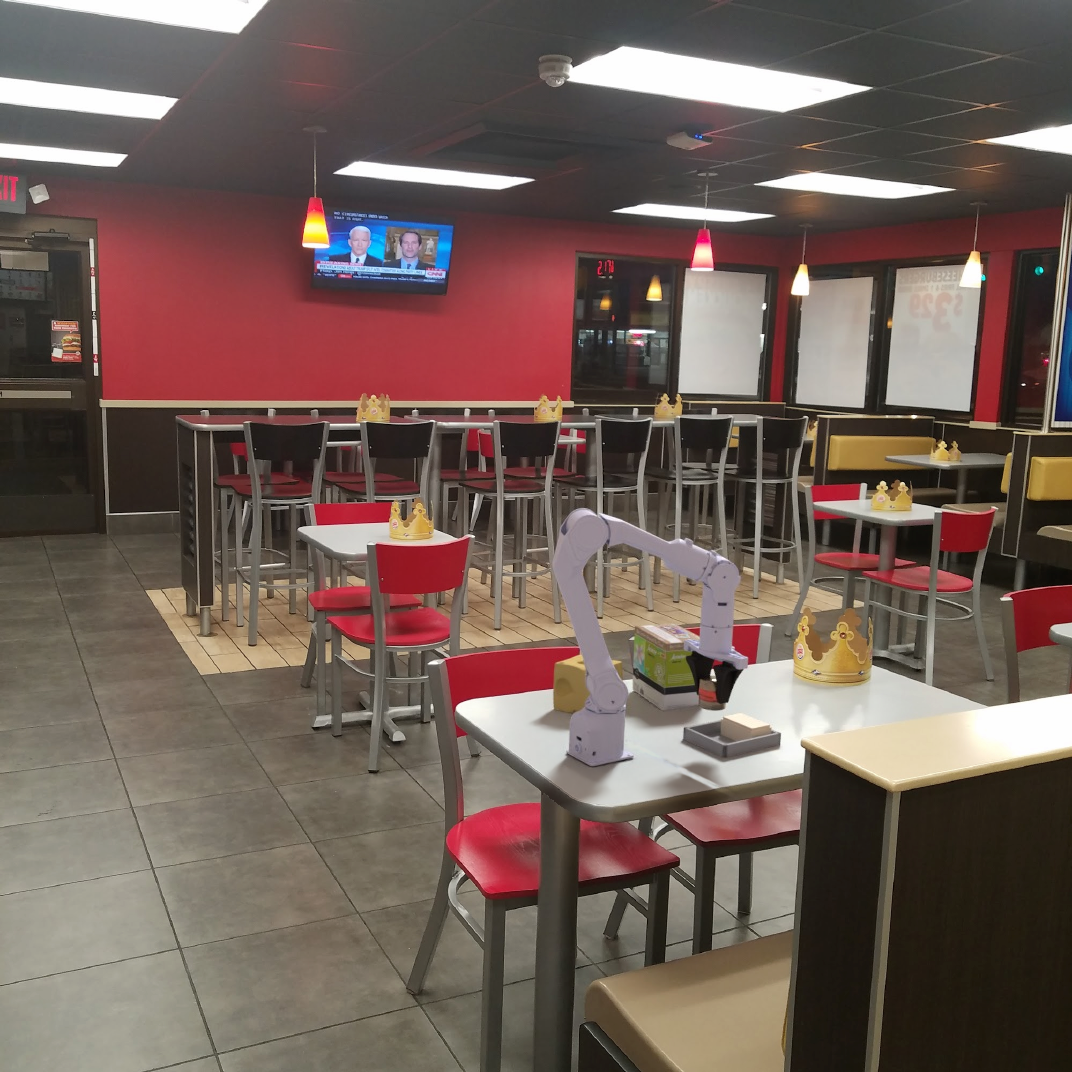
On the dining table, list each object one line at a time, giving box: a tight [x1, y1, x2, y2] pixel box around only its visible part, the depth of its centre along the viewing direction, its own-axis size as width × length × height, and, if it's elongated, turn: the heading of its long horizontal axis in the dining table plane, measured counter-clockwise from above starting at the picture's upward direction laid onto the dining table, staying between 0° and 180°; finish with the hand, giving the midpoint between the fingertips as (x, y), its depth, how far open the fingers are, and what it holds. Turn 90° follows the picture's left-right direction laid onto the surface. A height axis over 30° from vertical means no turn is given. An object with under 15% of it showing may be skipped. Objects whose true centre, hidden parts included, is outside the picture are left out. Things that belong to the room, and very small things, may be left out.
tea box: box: [632, 622, 700, 712], centre depth 219 cm, size 15×10×15 cm
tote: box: [682, 719, 782, 759], centre depth 193 cm, size 14×11×3 cm
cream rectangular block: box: [720, 712, 772, 741], centre depth 195 cm, size 5×8×4 cm, turn 33°
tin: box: [697, 675, 727, 712], centre depth 187 cm, size 5×5×5 cm
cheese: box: [552, 654, 624, 714], centre depth 212 cm, size 10×11×10 cm
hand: (712, 698), depth 187 cm, fingers closed on tin, 5 cm apart
